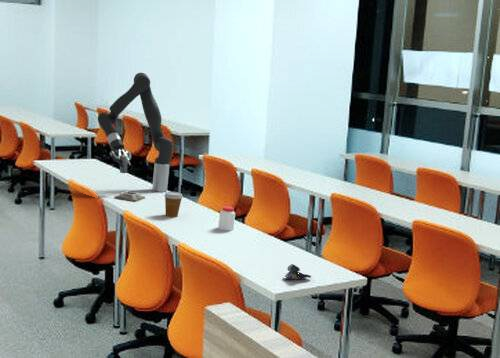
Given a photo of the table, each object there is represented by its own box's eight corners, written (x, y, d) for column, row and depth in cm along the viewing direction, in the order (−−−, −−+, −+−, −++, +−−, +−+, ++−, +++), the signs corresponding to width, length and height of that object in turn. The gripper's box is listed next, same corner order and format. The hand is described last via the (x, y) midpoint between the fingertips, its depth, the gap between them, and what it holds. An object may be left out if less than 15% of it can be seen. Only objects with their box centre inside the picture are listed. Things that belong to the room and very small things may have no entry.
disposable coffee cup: (159, 215, 338) (161, 192, 336) (168, 212, 347) (170, 190, 345) (175, 218, 335) (177, 196, 333) (183, 215, 344) (186, 193, 342)
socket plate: (123, 194, 379) (124, 189, 379) (144, 198, 377) (145, 193, 376) (114, 198, 367) (114, 193, 366) (135, 201, 364) (136, 196, 364)
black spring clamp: (275, 273, 262) (284, 282, 251) (280, 258, 262) (288, 266, 250) (302, 279, 265) (312, 288, 254) (307, 264, 265) (316, 273, 254)
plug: (121, 171, 377) (123, 154, 376) (128, 172, 376) (129, 155, 375) (118, 172, 374) (119, 155, 372) (124, 173, 373) (126, 156, 371)
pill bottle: (222, 230, 321) (224, 209, 320) (215, 226, 328) (218, 205, 326) (236, 230, 325) (238, 209, 323) (229, 226, 332) (231, 205, 330)
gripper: (107, 138, 372) (118, 163, 366) (128, 138, 382) (139, 162, 376) (102, 146, 376) (112, 170, 370) (122, 145, 386) (133, 169, 380)
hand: (125, 166), depth 373 cm, fingers closed on plug, 4 cm apart
